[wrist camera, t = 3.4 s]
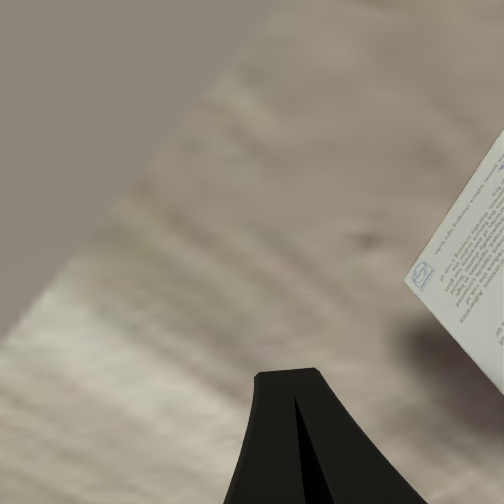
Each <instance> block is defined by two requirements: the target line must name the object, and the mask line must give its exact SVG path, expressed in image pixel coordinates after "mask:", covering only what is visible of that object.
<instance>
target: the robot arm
mask: <svg viewBox="0 0 504 504" xmlns="http://www.w3.org/2000/svg"><path fill="white" fill-rule="evenodd" d="M223 504H428V503H427V502H426V501H425V500H424V499H423V498H422V497H421V496H420V495H419V494H418V493H417V492H416V491H415V490H414V489H413V488H412V487H411V486H410V484H409V483H408V482H407V481H406V480H405V479H404V478H403V477H402V476H401V475H400V474H399V472H398V471H397V470H396V469H395V468H394V467H393V466H392V465H391V464H390V463H389V461H388V460H387V459H386V458H385V457H384V456H383V454H382V453H381V452H380V451H379V450H378V449H377V447H376V446H375V445H374V444H373V443H372V441H371V440H370V439H369V438H368V437H367V435H366V434H365V433H364V432H363V431H362V429H361V428H360V427H359V426H358V424H357V423H356V422H355V421H354V419H353V418H352V417H351V415H350V414H349V413H348V412H347V410H346V409H345V408H344V406H343V405H342V404H341V402H340V401H339V399H338V398H337V397H336V395H335V394H334V392H333V391H332V390H331V388H330V387H329V385H328V384H327V382H326V381H325V379H324V378H323V376H322V375H321V373H320V371H318V370H317V369H316V368H303V369H292V370H280V371H269V372H259V373H258V374H257V375H256V376H255V377H254V394H253V401H252V407H251V412H250V417H249V422H248V426H247V430H246V433H245V437H244V441H243V445H242V448H241V452H240V456H239V459H238V462H237V465H236V468H235V471H234V474H233V477H232V480H231V483H230V486H229V489H228V492H227V495H226V497H225V500H224V503H223Z"/></svg>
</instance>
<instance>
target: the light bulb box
mask: <svg viewBox="0 0 504 504" xmlns="http://www.w3.org/2000/svg"><path fill="white" fill-rule="evenodd" d="M404 283H405V284H406V285H407V286H408V287H409V288H410V289H411V291H412V292H413V293H414V294H415V295H416V296H417V297H418V298H419V300H420V301H421V302H422V303H423V304H424V305H425V306H426V307H427V309H428V310H429V311H430V312H431V313H432V314H433V315H434V316H435V317H436V318H437V320H438V321H439V322H440V323H441V324H442V325H443V327H444V328H445V329H446V330H447V331H448V332H449V333H450V334H451V336H452V337H453V338H454V339H455V340H456V341H457V342H458V343H459V345H460V346H461V347H462V348H463V349H464V351H465V352H466V353H467V354H468V355H469V356H470V357H471V359H472V360H473V361H474V362H475V363H476V364H477V365H478V367H479V368H480V369H481V370H482V371H483V372H484V374H485V375H486V376H487V377H488V378H489V379H490V380H491V382H492V383H493V384H494V385H495V386H496V387H497V388H498V390H499V391H500V392H501V393H502V394H503V395H504V130H503V131H502V133H501V134H500V135H499V137H498V138H497V140H496V141H495V143H494V144H493V146H492V147H491V149H490V150H489V152H488V153H487V155H486V156H485V158H484V159H483V161H482V162H481V164H480V165H479V167H478V169H477V170H476V172H475V173H474V175H473V176H472V178H471V179H470V181H469V182H468V183H467V185H466V187H465V188H464V190H463V191H462V193H461V194H460V196H459V197H458V199H457V200H456V202H455V203H454V205H453V206H452V208H451V209H450V211H449V212H448V214H447V215H446V217H445V219H444V220H443V222H442V223H441V225H440V226H439V227H438V229H437V230H436V232H435V234H434V235H433V237H432V238H431V240H430V241H429V243H428V244H427V246H426V247H425V249H424V250H423V252H422V253H421V255H420V256H419V258H418V259H417V261H416V262H415V264H414V265H413V267H412V269H411V270H410V272H409V273H408V275H407V276H406V278H405V279H404Z"/></svg>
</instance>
